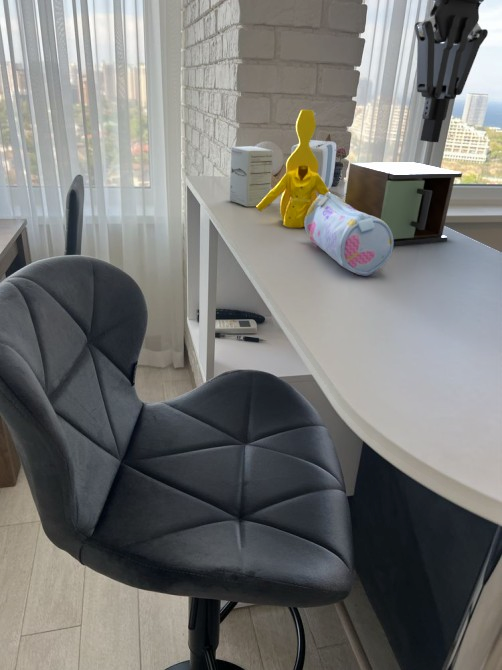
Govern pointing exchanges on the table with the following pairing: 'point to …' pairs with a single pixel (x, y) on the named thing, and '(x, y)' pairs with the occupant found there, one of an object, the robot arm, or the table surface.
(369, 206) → the cabinet
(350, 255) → the pencil case
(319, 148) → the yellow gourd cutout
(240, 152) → the white packaging box
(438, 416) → the table surface
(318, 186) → the figure statuette
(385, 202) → the sliding door
